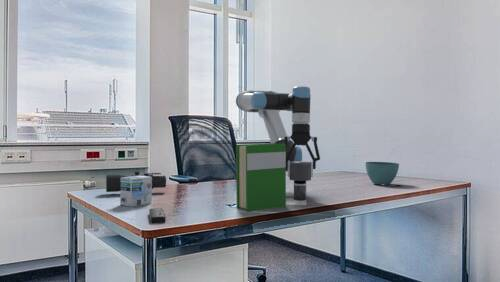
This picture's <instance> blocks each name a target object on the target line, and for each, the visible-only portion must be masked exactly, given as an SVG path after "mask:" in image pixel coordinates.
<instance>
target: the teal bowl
mask: <svg viewBox="0 0 500 282" xmlns="http://www.w3.org/2000/svg"><path fill="white" fill-rule="evenodd" d="M399 167H400V164H399V163H398V162H397V163H396V162H390V161H389V162H387V161H366V162H365V170H366V173H367V175H368V177H369V179H370V181H371V182H372V183H374V184H373V185H375V184H385V185H384V186H388V185H387V184H389V185H391V183H393V182H394V181H395V179H396V177H397V174H398V172H399Z"/></svg>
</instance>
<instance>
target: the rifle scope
mask: <svg viewBox="0 0 500 282" xmlns="http://www.w3.org/2000/svg"><path fill="white" fill-rule="evenodd" d="M132 176H133V175H130V176H129V175H123V174H106V176H105V177H106V182H105V184H106V185H105V188H106V189H105V191H106V193H113V192H114V193H115V192H116V193H117V192H120V187H121V178H122V177H132ZM134 176H140V171H134ZM141 176H149V177H152V190H153V189H156V188H166V187H167V177H166V175H161V172H152V173H151V172H146V173H145V172H144V173H143V174H141Z"/></svg>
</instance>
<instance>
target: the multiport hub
mask: <svg viewBox="0 0 500 282" xmlns="http://www.w3.org/2000/svg"><path fill="white" fill-rule="evenodd" d="M148 216H149V219H150V224H161V223H162V224H164V223H166V213H165V212H164V209H163V208H162V207H161V208H158V207H157V208H149V215H148Z"/></svg>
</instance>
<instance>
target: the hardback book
mask: <svg viewBox="0 0 500 282" xmlns="http://www.w3.org/2000/svg"><path fill="white" fill-rule="evenodd" d="M235 159H236V160H235V165H236V166H235V168H236V172H235V173H236V176H235V177H236V179H235V181H236V182H235V183H236V185H235V187H236V189H235V190H236V208H237V209H241V208H242V209H245V212H247V213H251V212H252V211H260V210H267V209H275V208H283V207H284V208H285V207H287V205H286V198H287V190H286V189H287V183H286V182H287V181H286V179H287V177H286V176H287V173H286V144H278V143H271V142H269V143H248V144H247V143H245V144H241V143H240V144H235Z"/></svg>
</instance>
